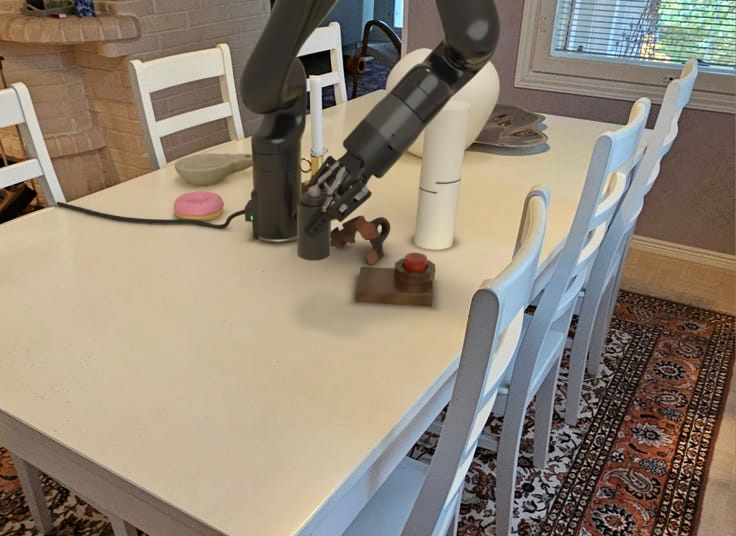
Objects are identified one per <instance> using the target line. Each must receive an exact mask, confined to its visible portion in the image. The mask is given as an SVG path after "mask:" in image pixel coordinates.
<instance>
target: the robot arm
mask: <svg viewBox="0 0 736 536" xmlns="http://www.w3.org/2000/svg"><path fill="white" fill-rule="evenodd" d="M338 2H339V0H275V1H274V4H273V6H272V9H271V12H270V14H269V17H268V19H267V21H266V23H265V26H264V28H263V29H262V32H261V34H260V36H259V38H258V40H257V42H256V44H255V45H254V47H253V49H252V51H251V53H250V55H249V57H248V59H247V61H246V63H245V65H244V66H243V68H242V71H241V75H240V80H239V95H240V99H241V101H242V103H243V105H244V107H245V108H246V109H247V110H248V111H249V112H251V113H253V114H255V115H262V117H261V120H260V122H259V124H258V125H257V127H256V128H255V129H254V131H253V132H252V133H251V137H250V138H251V139H250V141H251V142H250V145H251V147H250V148H251V154H252V166H251V167H252V186H253V189H252V190H251V192H250V199H249V200H248V201H247V203H246V204H245V206H244V208H243V209H241V210H239V211H236V212H234V213H232V214H230V215H228V217H227V218H226V219H225V222H224V223H222V224H214V223H210V222H208V221H199V220H187V219H180V218H179V219H178V218H177V219H158V218H138V217H129V216H121V215H115V214H109V213H104V212H99V211H95V210H92V209H88V208H85V207H81V206H77V205H74V204H69V203H64V202H60V201H57V202H56V206H59V207H61V208H62V207H63V208H66V209H70V210H73V211H78V212H80V213H81V212H82V213H85V214H89V215H92V216H97V217H101V218H106V219H111V220H116V221H122V222H129V223H130V222H131V223H139V224H141V223H143V224H164V225H166V224H167V225H168V224H169V225H171V224H173V225H174V224H175V225H178V224H180V225H181V224H182V225H183V224H187V225H188V224H189V225H198V226H203V227H206V228H211V229H217V230H222V229H226V228H227V227H228V226H229V225H230V223H231V222H232V220H233V219H235V218H237V217H239V216H242V215H244V221H245V222H248V223H249V222H250V223H251V226H252V240H256V241H257V240H258V241H260V242H263V243H267V244H277V245H278V244H287V243H292V242H294V241H297V201H298V199H300V198H301V194H302V139H303V136H304V133H305V130H306V124H307V106H308V105H307V103H308V79H307V75H306V71H305V67H304V65H303V63H302V61H301V59H300V58H299V57H298V55H299V53H300V51H301V50H302V48H303V47H304V45H305V43H306V42H307V40H309V38H310V37H311V36H312V34H313V33H314V32H315V31H316V29H318V27H319V26H320V25H321V24H322V22H323V21H324V20H325V19H326V18H327V16H328V15H329V14H330V13H331V12H332V10H333V9H334V8H335V6H336V5H337V4H338ZM432 2H434V3H435V6H436V10H437V12H438V16H439V19H440V23H441V26H442V31H443V37H442V39H441V40H440V41H439V42H438V44H437V45H436V46H435V47H434V48H433V49H432V50H433V51H432V52H431V53H430V54H429V55H428V56H427V57H426V58H425V60H424V61H423V62H422V63H419V64H417V65H415V66H413V67H412V68H411V69H410V70H409V71H408V72H407V73H406V74H405V75H404V76H403V77H402V78H401V80H400V81H399V82H398V83H397V84H396V85H395V86H394V87H393V89H392V90H391V91H390V92H389V93H388V94H387V95H385V96H384V97H383V98H382V99H380V100H379V101H378V102H376V104H375V105H374V106H373V107H372V108H371V110H370V111H369V112H368V113H367V114H366V115H365V116H364V117H363V119H361V121H360V122H358V124H357V125H356V126H355V127H354V129H353V130H352V131H351V132H350V133H349V134H348V135H347V137H346V138H344V139H343V142H342V147H343V148H344V149H345V150H346V152H345V153H344V154H343V155H341V157H339V158H338V159H335V157H334V156H332V155H328V156H327V157H326V159H325V160H324V161H323V163H322V164H321V165H320V167H319V168H318V169H317V171H316V172H315V174H314V175H313V176H312V177H311V179H310V180H309V182H308V183H307V184H306V189H307V190H309V188H310V187H311V186H317V187H319V189H320V191H322V192H325V193H327V199H326V201H325V202H324V204H323V205H322V207H321V211H320V210H318V211H317V212H316V213H315V214H314V216H313V217H312V218H311V219H310V220H309V221H308V222H307V223H306V224H305V225H304V227H303V231H304V232H305V233H306V234H307V235H308V236H309V237H310V238H315V237H316V236H317V235H318V234H319V232H320V231H321V230H322V229H323V228H324V227H325V226H326V225H327V224H328V223H329V222H330V221H331V222H333V221H336V220H337V221H338V223H342V222H344V221H345V220H346V219H347V218H348V217H349V216H350V215H352V214H353V213H354V212H355V211H356V210H357V209H359V208H360V207H361V205H363V204H365V202H366V201H367V200H369V199H370V198H371V196H372V194H373V193H372V191H371V190H370V189H369V188H368V187H367V184H368V183H369V181H370V179H371V178H372V176H373V177H375V178H376V179H378V180H379V179H382V178H383V177H384V176H385V175H386V174H387V173H388V172H389V171H390V170H391V168H392V167H393V166H394V165H395V164H396V163H397V162H398V161H399V160H400V159H401V157H402V156H404V155H405V153H406V152H408V151H407V150H408V149H409V148H410V147H411V145H412V144H413V143H414V142H415V141H416V140H417V138H418V137H419V135H420V134H421V132H422V131H423V130H424V129H425V127H426V126H427V125H428V124H429V123H430V122H431V121H432V120H433V119H434V118H435V117H436V116H437V114H438V113H439V112H440V111H441V110H442V109H443V108H444V106H445V105H446V104H447V103H448V101H449V100H450V99H451V98H452V96H454V95H455V94H456V93H457V92H458V91H459V90H460V89H462V88H463V87H464V86H465V85H466V84H467V83H468V82H469V81H470V80H471V79H472V78H473V77H474V76H475V75H476V74H477V73H478V72H479V71H480V70H481V69H482V68H483V67H484V66H485V65H486V64H487V63H488V62H489V61H491V59H492V58H493V55H494V54H495V52H496V49H497V47H498V46H499V44H500V42H501V41H500V40H501V37H502V21H501V17H500V16H501V15H500V12H499V10H498V7H497V4H496V1H495V0H432ZM343 209H344V210H343Z"/></svg>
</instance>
